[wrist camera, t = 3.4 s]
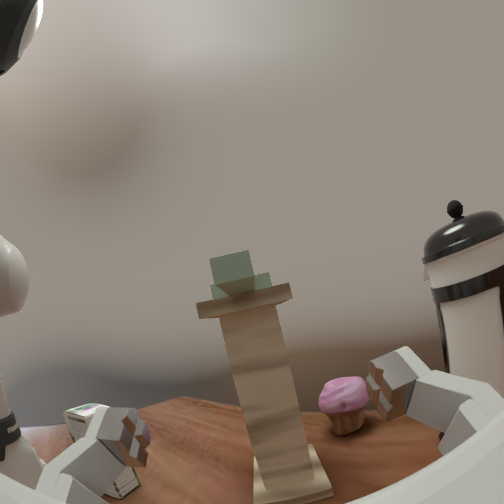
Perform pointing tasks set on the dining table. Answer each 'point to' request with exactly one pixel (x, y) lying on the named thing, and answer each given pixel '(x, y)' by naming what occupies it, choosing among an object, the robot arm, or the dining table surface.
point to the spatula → (236, 275)
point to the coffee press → (469, 294)
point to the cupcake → (344, 403)
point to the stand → (268, 397)
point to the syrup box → (78, 427)
